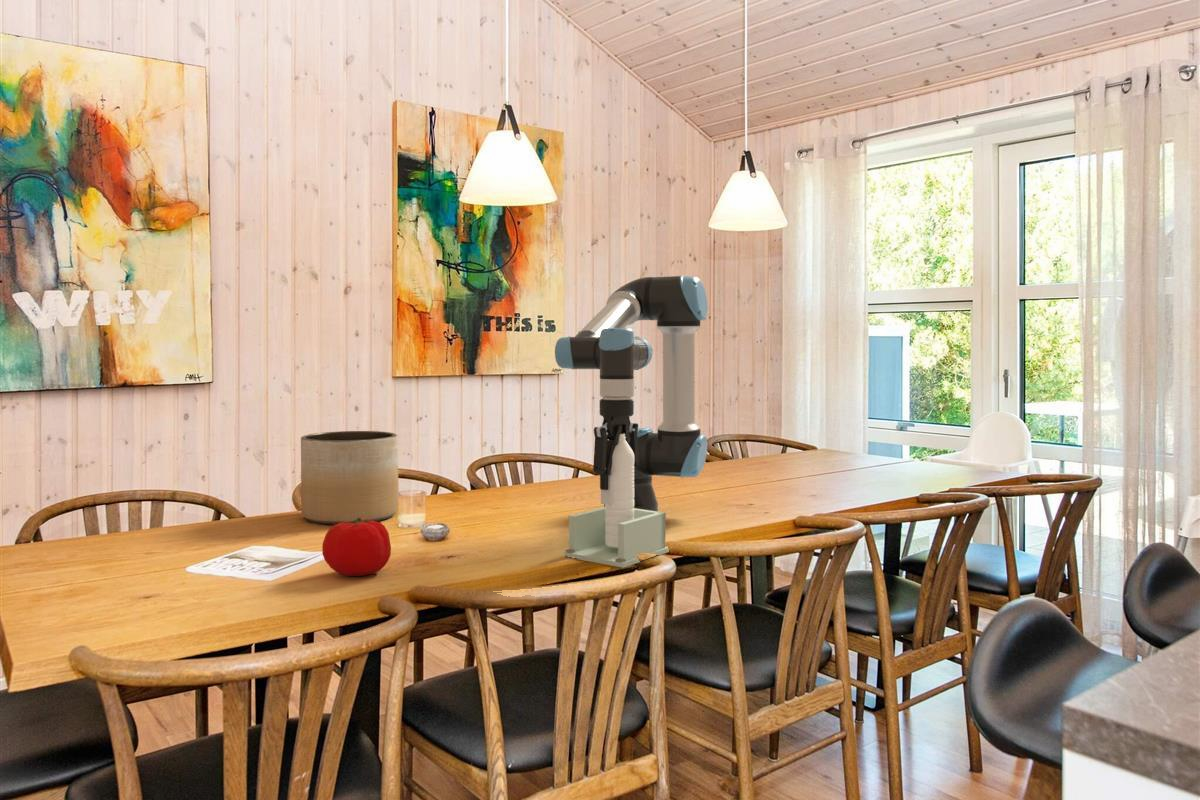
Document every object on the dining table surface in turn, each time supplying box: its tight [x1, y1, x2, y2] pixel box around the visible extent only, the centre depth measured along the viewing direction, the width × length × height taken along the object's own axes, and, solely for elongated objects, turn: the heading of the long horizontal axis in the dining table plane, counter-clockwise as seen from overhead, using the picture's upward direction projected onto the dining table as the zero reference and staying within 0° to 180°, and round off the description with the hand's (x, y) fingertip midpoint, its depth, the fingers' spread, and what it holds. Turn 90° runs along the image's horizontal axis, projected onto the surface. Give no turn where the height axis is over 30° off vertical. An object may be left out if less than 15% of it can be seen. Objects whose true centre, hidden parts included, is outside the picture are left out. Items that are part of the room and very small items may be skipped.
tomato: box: [321, 518, 392, 577], centre depth 178 cm, size 12×13×12 cm
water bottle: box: [605, 433, 634, 548], centre depth 195 cm, size 9×6×25 cm
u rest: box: [563, 506, 669, 569], centre depth 196 cm, size 18×16×9 cm
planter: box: [300, 430, 400, 525], centre depth 237 cm, size 25×25×22 cm
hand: (616, 501), depth 195 cm, fingers closed on water bottle, 6 cm apart
